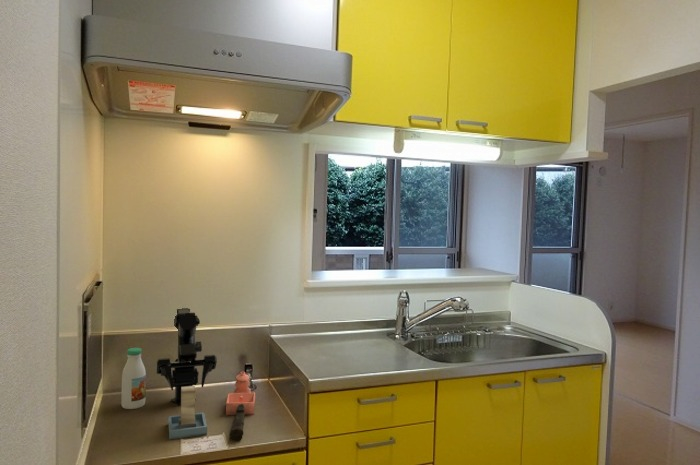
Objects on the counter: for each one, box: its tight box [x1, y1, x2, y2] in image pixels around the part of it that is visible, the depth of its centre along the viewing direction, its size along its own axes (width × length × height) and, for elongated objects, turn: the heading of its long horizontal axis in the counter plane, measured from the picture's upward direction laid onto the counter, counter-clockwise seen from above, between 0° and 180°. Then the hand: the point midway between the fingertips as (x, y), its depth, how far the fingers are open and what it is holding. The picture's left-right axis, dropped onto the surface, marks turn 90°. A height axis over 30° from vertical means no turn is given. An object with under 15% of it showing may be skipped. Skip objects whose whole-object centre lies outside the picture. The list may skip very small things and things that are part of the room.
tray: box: [167, 412, 208, 440], centre depth 153 cm, size 11×11×2 cm
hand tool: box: [229, 404, 245, 442], centre depth 156 cm, size 19×4×5 cm, turn 6°
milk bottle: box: [120, 347, 147, 410], centre depth 169 cm, size 8×8×20 cm
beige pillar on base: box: [179, 385, 196, 429], centre depth 152 cm, size 5×5×12 cm
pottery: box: [225, 371, 256, 416], centre depth 174 cm, size 18×10×10 cm, turn 10°
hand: (187, 388), depth 155 cm, fingers open, 9 cm apart
